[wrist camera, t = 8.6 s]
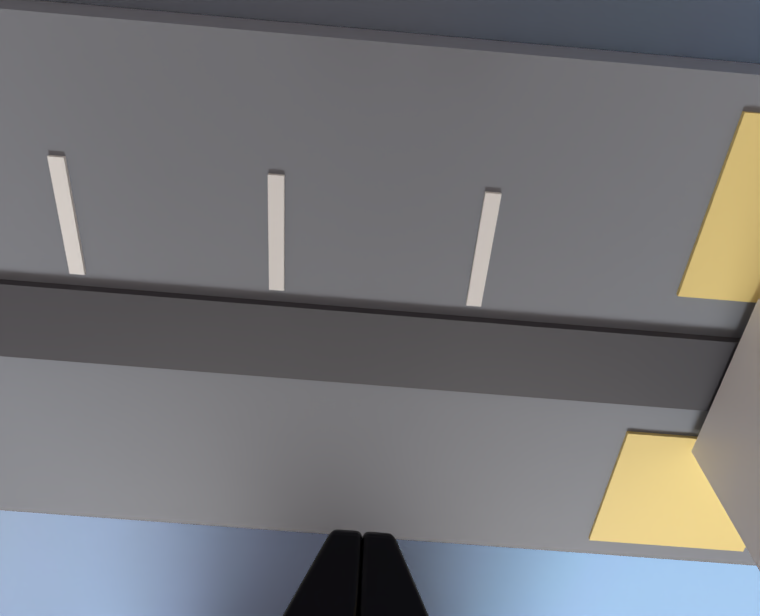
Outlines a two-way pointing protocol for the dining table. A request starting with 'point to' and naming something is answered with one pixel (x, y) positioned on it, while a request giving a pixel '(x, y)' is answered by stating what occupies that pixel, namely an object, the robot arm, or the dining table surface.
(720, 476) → the block
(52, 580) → the dining table surface
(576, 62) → the console board
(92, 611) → the dining table surface
